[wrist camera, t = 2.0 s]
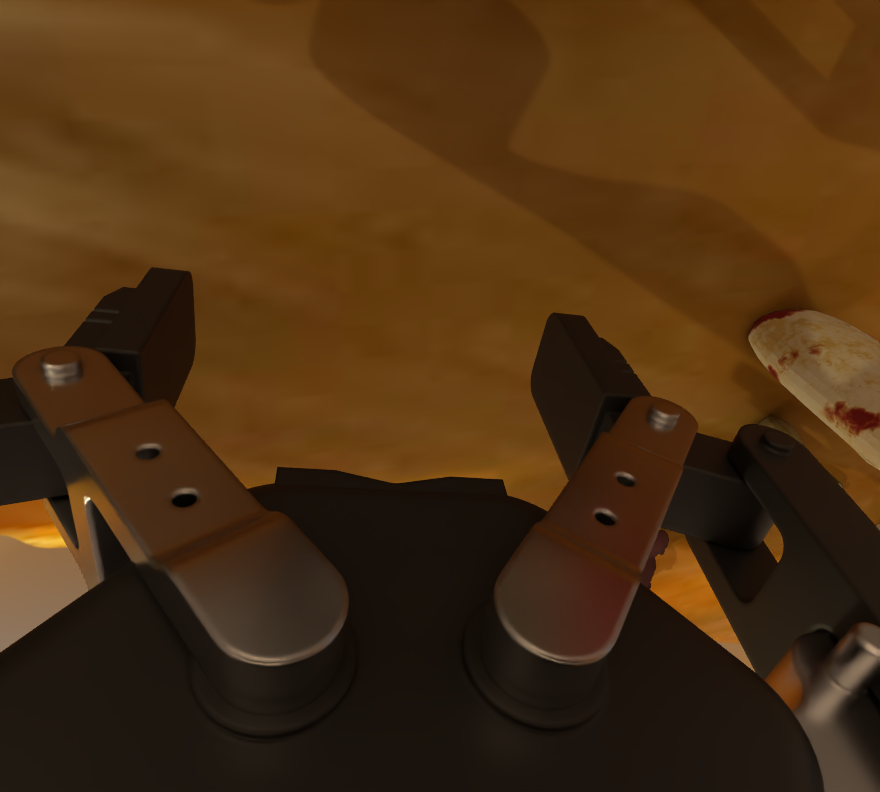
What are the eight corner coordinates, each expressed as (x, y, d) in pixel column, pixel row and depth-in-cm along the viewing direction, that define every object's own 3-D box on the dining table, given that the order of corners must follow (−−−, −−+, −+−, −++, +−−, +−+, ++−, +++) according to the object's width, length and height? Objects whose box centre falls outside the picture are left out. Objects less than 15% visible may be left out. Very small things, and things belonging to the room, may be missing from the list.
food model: (839, 290, 57) (1037, 416, 41) (818, 351, 61) (991, 489, 45) (740, 302, 57) (901, 434, 40) (725, 363, 60) (866, 507, 44)
